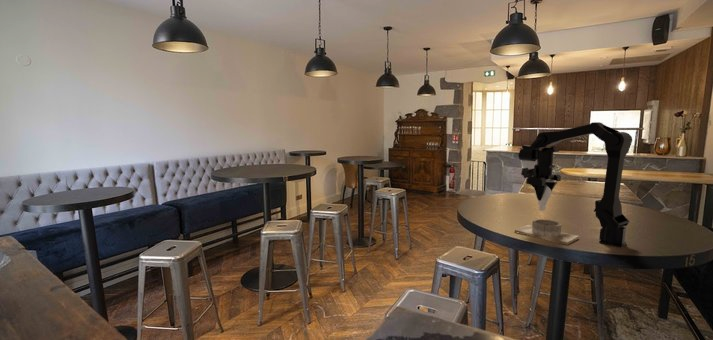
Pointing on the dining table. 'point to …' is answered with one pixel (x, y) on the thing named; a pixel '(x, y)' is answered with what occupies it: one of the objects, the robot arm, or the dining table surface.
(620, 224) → the robot arm
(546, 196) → the lightbulb
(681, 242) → the dining table surface
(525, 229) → the lamp base
